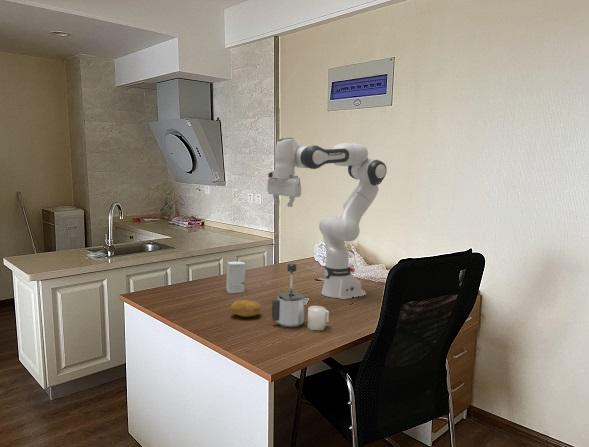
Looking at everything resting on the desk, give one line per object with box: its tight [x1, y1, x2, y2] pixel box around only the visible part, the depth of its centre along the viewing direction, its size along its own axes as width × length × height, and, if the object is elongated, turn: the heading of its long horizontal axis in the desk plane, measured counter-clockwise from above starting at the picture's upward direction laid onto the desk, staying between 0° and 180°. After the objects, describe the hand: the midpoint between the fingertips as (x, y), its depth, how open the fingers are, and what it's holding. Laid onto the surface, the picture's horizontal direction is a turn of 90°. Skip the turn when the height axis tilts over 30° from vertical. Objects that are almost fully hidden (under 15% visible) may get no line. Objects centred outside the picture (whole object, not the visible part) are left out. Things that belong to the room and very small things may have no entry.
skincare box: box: [225, 261, 246, 294], centre depth 219 cm, size 8×6×15 cm
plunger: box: [281, 263, 297, 301], centre depth 177 cm, size 8×8×15 cm
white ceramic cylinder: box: [306, 305, 330, 331], centre depth 174 cm, size 8×7×8 cm
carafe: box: [271, 290, 305, 328], centre depth 178 cm, size 13×11×12 cm
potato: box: [230, 299, 262, 318], centre depth 185 cm, size 9×13×7 cm
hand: (283, 205), depth 196 cm, fingers open, 8 cm apart
